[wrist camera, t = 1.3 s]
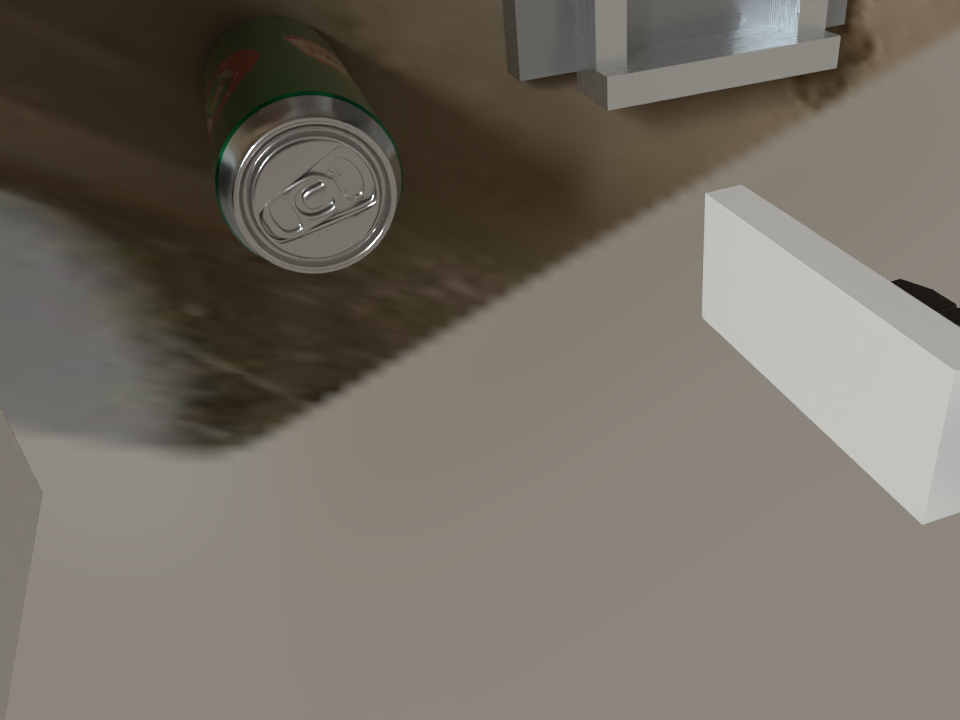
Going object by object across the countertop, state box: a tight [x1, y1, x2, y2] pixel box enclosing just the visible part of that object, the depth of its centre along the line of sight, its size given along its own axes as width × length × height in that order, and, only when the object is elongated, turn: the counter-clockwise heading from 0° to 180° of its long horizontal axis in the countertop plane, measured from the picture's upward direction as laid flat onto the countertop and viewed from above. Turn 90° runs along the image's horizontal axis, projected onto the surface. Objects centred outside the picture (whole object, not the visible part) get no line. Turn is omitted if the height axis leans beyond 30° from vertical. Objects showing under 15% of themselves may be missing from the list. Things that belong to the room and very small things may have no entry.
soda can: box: [203, 16, 403, 274], centre depth 29 cm, size 5×5×12 cm
